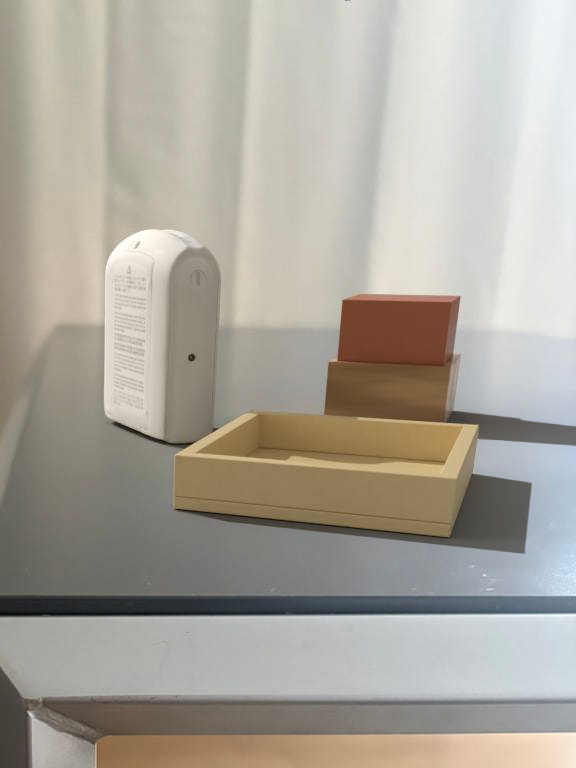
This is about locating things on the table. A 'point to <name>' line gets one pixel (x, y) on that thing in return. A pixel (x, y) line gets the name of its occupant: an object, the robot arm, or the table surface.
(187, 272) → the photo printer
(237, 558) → the table surface
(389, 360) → the middle block
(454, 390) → the base block
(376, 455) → the tray
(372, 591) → the table surface
